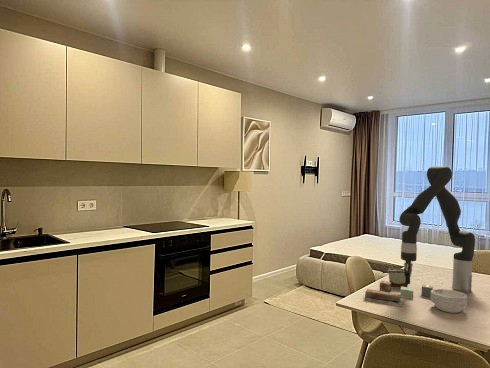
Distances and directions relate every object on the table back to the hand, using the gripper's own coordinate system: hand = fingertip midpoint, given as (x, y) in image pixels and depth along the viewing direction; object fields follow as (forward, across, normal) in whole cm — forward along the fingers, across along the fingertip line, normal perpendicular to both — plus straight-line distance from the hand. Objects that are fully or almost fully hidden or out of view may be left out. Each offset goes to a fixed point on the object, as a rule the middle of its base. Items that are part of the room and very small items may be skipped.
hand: (407, 283), depth 188 cm
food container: (+7, +16, +7) cm, 19 cm away
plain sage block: (+7, 0, 0) cm, 7 cm away
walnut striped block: (+6, +1, +11) cm, 13 cm away
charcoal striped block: (+7, +8, -9) cm, 13 cm away
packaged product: (+7, -16, +9) cm, 20 cm away
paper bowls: (+7, -10, -19) cm, 23 cm away
